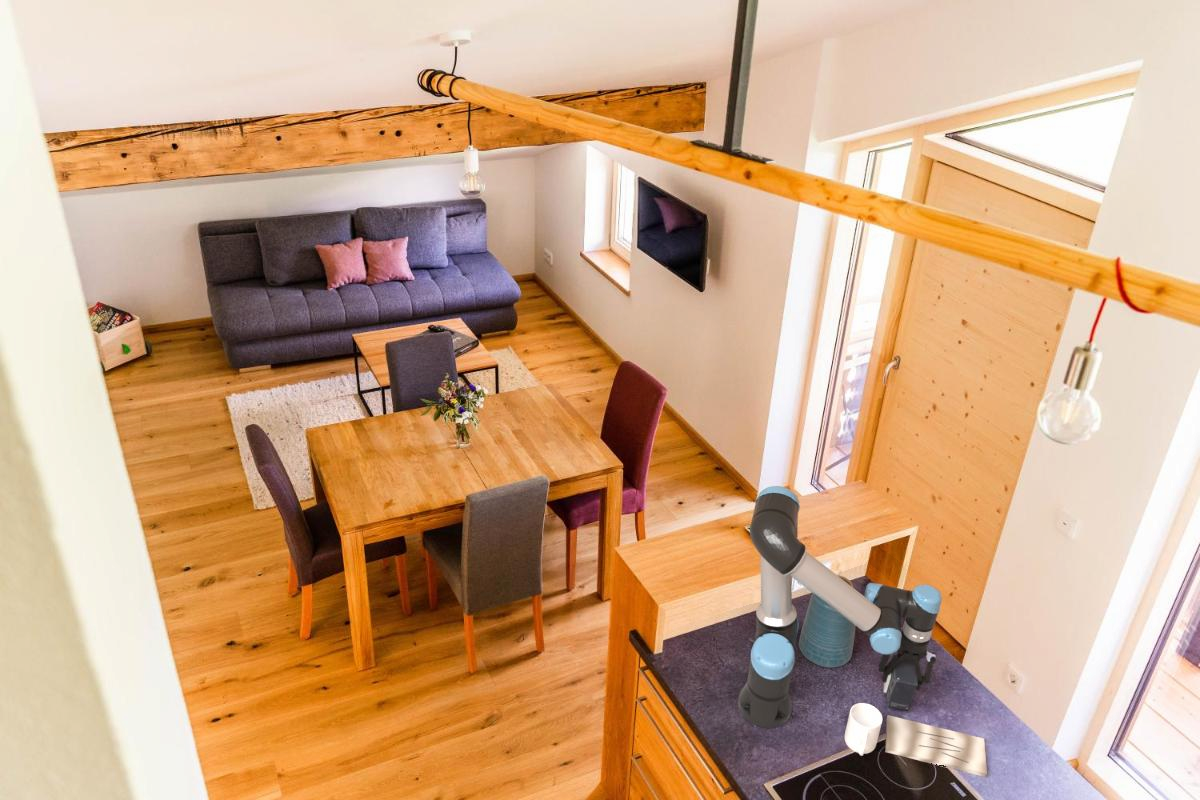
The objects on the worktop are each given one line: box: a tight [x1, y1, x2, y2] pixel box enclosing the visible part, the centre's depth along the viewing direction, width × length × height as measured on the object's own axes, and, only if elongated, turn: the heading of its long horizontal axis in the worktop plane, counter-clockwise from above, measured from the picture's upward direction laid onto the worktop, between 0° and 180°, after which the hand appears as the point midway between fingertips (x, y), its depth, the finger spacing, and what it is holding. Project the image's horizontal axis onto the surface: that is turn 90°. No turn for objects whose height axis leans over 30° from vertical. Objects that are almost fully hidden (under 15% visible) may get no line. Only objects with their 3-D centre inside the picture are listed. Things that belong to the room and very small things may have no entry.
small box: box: [885, 654, 917, 711], centre depth 255 cm, size 11×6×10 cm, turn 168°
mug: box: [844, 702, 883, 757], centre depth 242 cm, size 9×12×11 cm
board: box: [884, 714, 988, 778], centre depth 245 cm, size 26×12×2 cm, turn 73°
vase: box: [798, 574, 857, 668], centre depth 270 cm, size 16×16×27 cm
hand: (897, 692), depth 257 cm, fingers closed on small box, 7 cm apart
